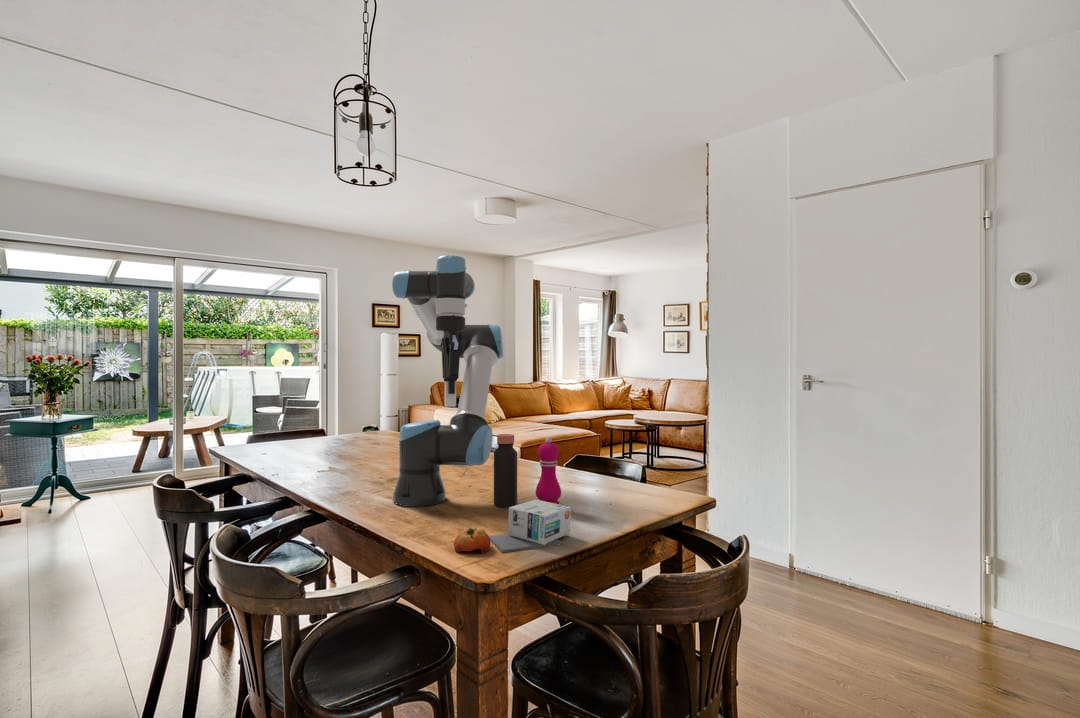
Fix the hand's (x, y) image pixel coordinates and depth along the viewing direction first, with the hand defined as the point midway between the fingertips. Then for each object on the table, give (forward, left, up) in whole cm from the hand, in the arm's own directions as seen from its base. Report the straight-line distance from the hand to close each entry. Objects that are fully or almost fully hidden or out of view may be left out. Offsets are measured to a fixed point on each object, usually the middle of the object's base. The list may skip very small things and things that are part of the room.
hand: (450, 406), depth 139 cm
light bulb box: (+17, +14, -25) cm, 33 cm away
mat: (+23, +12, -29) cm, 39 cm away
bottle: (-8, +18, -30) cm, 36 cm away
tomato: (+23, 0, -30) cm, 38 cm away
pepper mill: (0, +28, -30) cm, 41 cm away
